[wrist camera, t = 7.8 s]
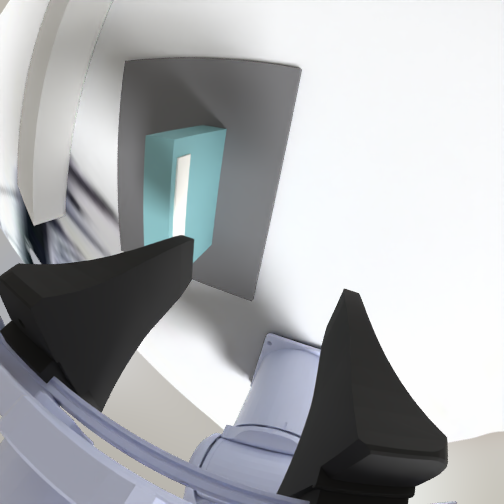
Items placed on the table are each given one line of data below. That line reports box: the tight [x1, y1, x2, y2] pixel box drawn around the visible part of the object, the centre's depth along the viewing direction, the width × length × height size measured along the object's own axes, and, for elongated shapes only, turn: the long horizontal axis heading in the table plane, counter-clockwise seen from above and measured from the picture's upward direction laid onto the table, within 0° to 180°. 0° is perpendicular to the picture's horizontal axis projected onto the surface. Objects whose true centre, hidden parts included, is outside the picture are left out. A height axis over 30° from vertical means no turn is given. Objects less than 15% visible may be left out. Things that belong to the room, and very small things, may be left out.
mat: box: [118, 58, 302, 301], centre depth 20 cm, size 18×14×1 cm
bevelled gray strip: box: [18, 0, 113, 225], centre depth 18 cm, size 34×5×10 cm
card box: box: [143, 125, 227, 263], centre depth 17 cm, size 9×2×6 cm, turn 170°
